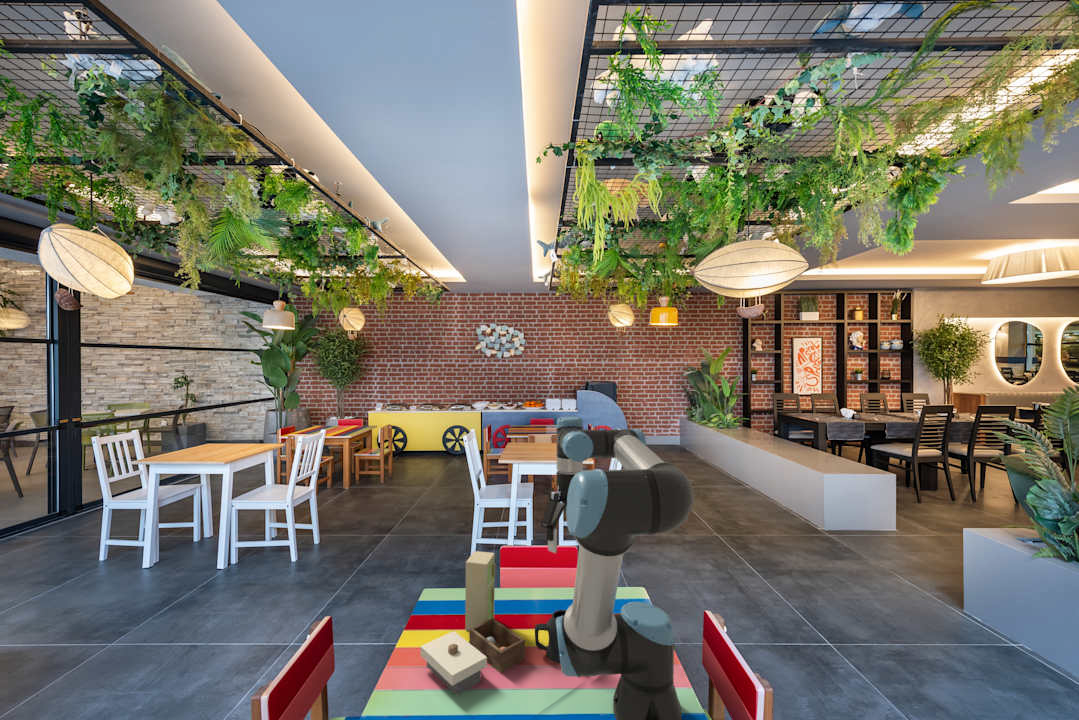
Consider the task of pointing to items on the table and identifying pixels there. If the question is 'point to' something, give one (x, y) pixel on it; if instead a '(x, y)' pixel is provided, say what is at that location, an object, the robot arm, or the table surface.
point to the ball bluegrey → (491, 640)
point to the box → (498, 644)
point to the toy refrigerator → (479, 588)
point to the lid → (453, 657)
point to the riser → (460, 685)
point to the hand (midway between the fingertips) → (569, 544)
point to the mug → (550, 637)
